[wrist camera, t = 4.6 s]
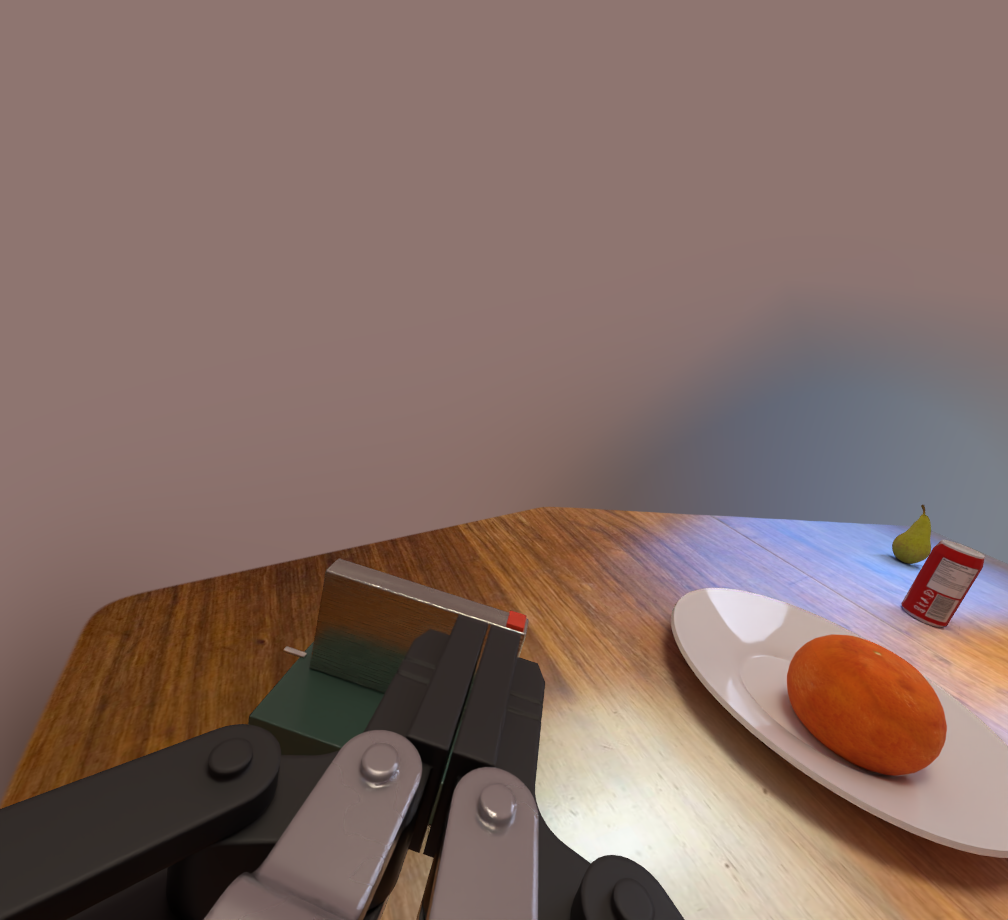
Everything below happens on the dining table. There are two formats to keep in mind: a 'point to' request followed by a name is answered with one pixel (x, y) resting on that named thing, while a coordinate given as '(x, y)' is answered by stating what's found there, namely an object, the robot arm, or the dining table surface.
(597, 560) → the dining table surface
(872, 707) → the plate
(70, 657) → the dining table surface
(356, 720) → the base block
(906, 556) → the fruit
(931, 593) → the soda can
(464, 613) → the upright slab
